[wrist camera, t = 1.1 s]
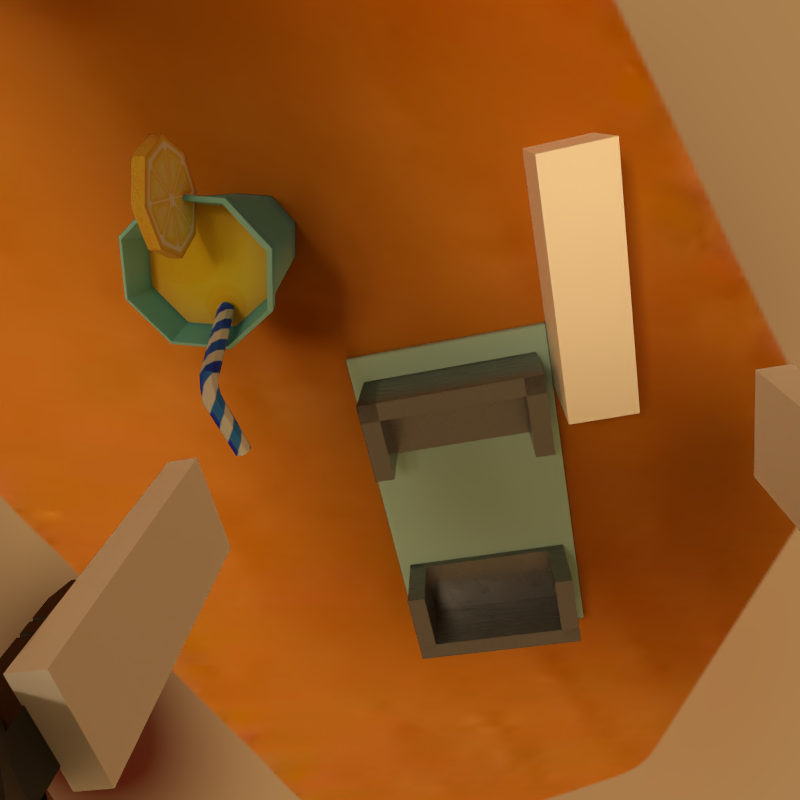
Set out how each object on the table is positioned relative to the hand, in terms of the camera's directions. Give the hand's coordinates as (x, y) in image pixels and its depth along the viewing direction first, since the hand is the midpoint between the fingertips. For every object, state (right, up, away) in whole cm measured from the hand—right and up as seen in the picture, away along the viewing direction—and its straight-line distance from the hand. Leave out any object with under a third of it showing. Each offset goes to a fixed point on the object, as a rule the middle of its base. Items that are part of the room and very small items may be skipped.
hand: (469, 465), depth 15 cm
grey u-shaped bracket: (+2, +1, +28) cm, 28 cm away
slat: (+9, +10, +24) cm, 28 cm away
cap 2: (+5, -12, +34) cm, 36 cm away
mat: (+4, -5, +31) cm, 32 cm away
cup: (-10, +11, +25) cm, 29 cm away
